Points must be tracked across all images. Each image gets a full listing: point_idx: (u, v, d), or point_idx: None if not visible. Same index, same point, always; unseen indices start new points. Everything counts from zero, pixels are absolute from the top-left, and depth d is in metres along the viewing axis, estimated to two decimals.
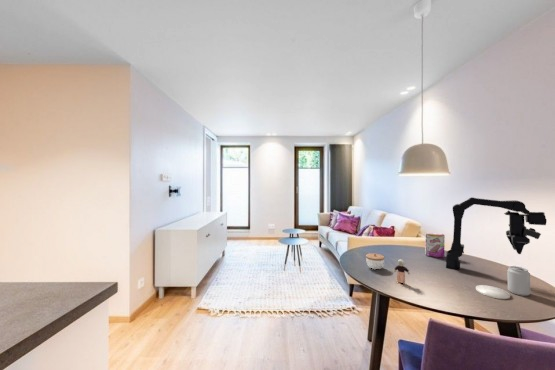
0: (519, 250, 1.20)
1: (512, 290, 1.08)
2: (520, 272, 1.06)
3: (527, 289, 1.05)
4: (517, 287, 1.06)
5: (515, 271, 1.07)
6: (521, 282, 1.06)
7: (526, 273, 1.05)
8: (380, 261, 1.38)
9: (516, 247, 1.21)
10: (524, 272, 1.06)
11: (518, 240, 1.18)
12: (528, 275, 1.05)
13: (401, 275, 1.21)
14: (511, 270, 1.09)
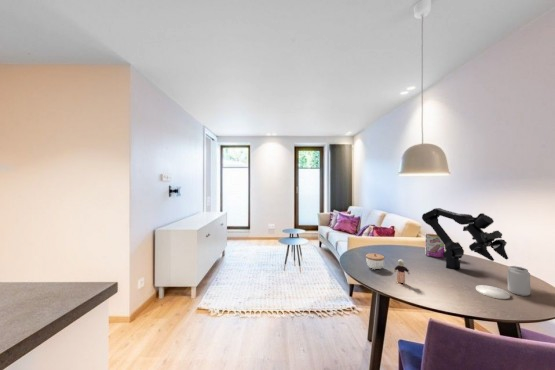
0: (489, 257, 1.17)
1: (512, 290, 1.08)
2: (520, 272, 1.06)
3: (527, 289, 1.05)
4: (517, 287, 1.06)
5: (515, 271, 1.07)
6: (521, 282, 1.06)
7: (526, 273, 1.05)
8: (380, 261, 1.38)
9: (484, 255, 1.18)
10: (524, 272, 1.06)
11: (472, 247, 1.21)
12: (528, 275, 1.05)
13: (401, 275, 1.21)
14: (511, 270, 1.09)
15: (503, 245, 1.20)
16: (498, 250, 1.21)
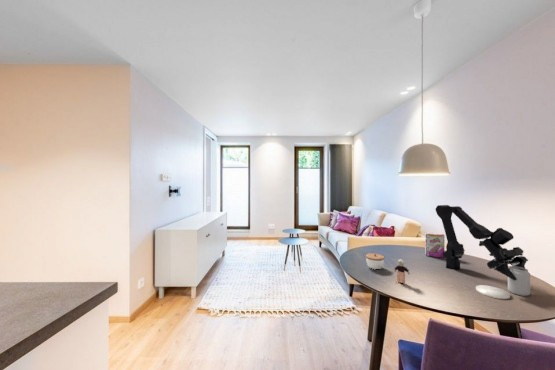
0: (511, 276, 1.08)
1: (512, 290, 1.08)
2: (520, 272, 1.06)
3: (527, 289, 1.05)
4: (517, 287, 1.06)
5: (515, 271, 1.07)
6: (521, 282, 1.06)
7: (526, 273, 1.05)
8: (380, 261, 1.38)
9: (505, 274, 1.10)
10: (524, 272, 1.06)
11: (491, 265, 1.12)
12: (528, 275, 1.05)
13: (401, 275, 1.21)
14: (511, 270, 1.09)
15: (523, 263, 1.11)
16: None
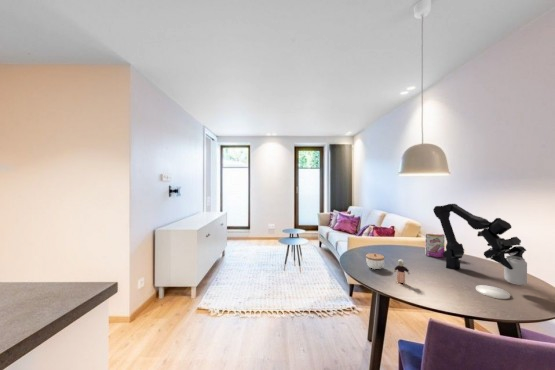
0: (507, 265, 1.08)
1: (508, 279, 1.08)
2: (516, 261, 1.06)
3: (523, 278, 1.05)
4: (514, 276, 1.06)
5: (511, 260, 1.07)
6: (517, 272, 1.06)
7: (523, 262, 1.05)
8: (380, 261, 1.38)
9: (501, 263, 1.10)
10: (521, 261, 1.06)
11: (487, 255, 1.12)
12: (525, 264, 1.05)
13: (401, 275, 1.21)
14: (508, 259, 1.09)
15: (521, 253, 1.11)
16: None
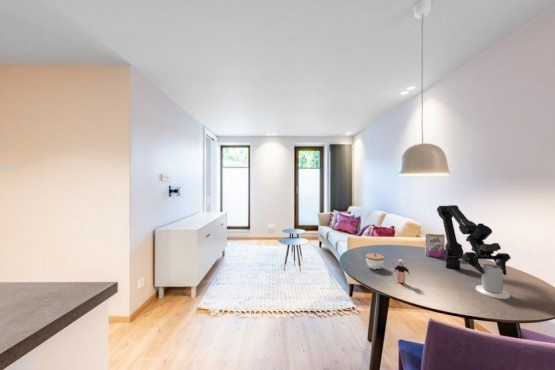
0: (479, 270, 1.10)
1: (483, 286, 1.10)
2: (489, 269, 1.08)
3: (496, 287, 1.06)
4: (486, 284, 1.08)
5: (485, 268, 1.09)
6: (489, 279, 1.07)
7: (496, 270, 1.06)
8: (380, 261, 1.38)
9: (475, 267, 1.12)
10: (494, 269, 1.07)
11: (463, 258, 1.16)
12: (498, 273, 1.06)
13: (401, 275, 1.21)
14: (483, 267, 1.11)
15: (504, 259, 1.09)
16: (499, 264, 1.11)
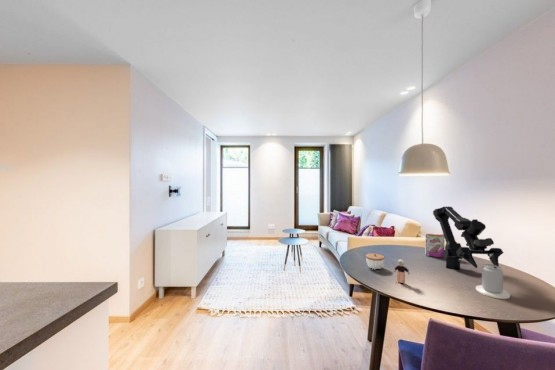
0: (473, 264, 1.15)
1: (483, 286, 1.10)
2: (489, 269, 1.08)
3: (496, 287, 1.06)
4: (487, 284, 1.08)
5: (485, 268, 1.09)
6: (489, 279, 1.07)
7: (496, 271, 1.06)
8: (380, 261, 1.38)
9: (469, 261, 1.17)
10: (494, 269, 1.07)
11: (458, 253, 1.20)
12: (498, 273, 1.06)
13: (401, 275, 1.21)
14: (483, 267, 1.11)
15: (497, 254, 1.14)
16: (492, 259, 1.15)
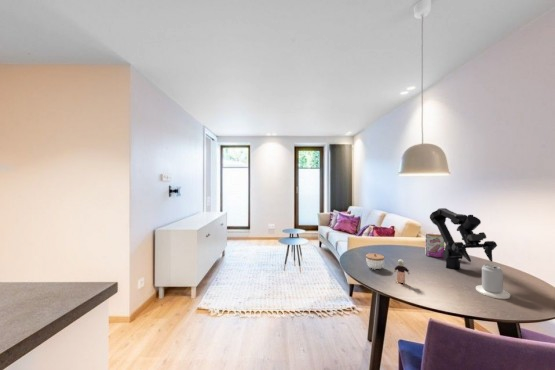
0: (467, 258, 1.20)
1: (483, 286, 1.10)
2: (489, 269, 1.08)
3: (496, 287, 1.06)
4: (487, 284, 1.08)
5: (485, 268, 1.09)
6: (489, 279, 1.07)
7: (496, 271, 1.06)
8: (380, 261, 1.38)
9: (464, 256, 1.22)
10: (494, 270, 1.07)
11: (453, 248, 1.26)
12: (498, 273, 1.06)
13: (401, 275, 1.21)
14: (483, 267, 1.11)
15: (490, 247, 1.18)
16: (486, 252, 1.20)
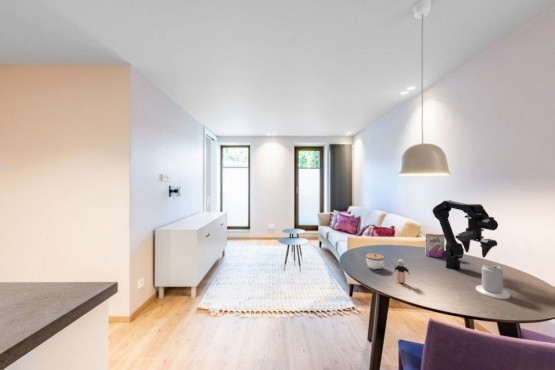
0: None
1: (483, 286, 1.10)
2: (489, 269, 1.08)
3: (496, 287, 1.06)
4: (487, 284, 1.08)
5: (485, 268, 1.09)
6: (489, 279, 1.07)
7: (496, 271, 1.06)
8: (380, 261, 1.38)
9: None
10: (494, 269, 1.07)
11: None
12: (498, 273, 1.06)
13: (401, 275, 1.21)
14: (483, 267, 1.11)
15: (482, 246, 1.20)
16: None
